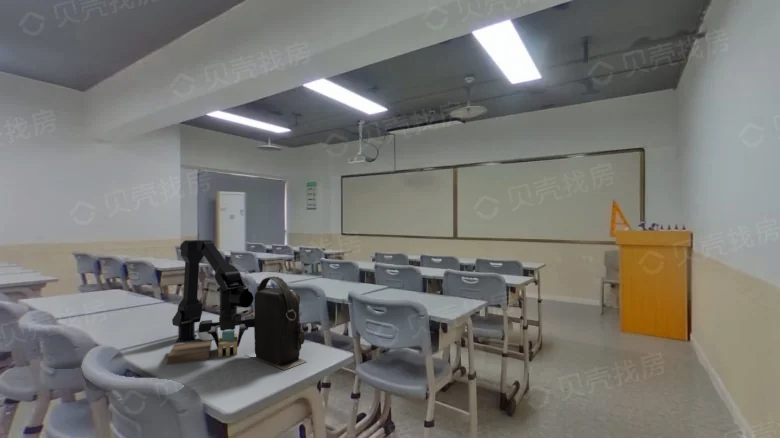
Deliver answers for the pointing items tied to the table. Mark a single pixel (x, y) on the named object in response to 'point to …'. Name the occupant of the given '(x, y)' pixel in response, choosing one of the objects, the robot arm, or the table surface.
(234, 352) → the pallet
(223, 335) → the teal square block
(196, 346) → the block
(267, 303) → the shoulder bag
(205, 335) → the teacup
